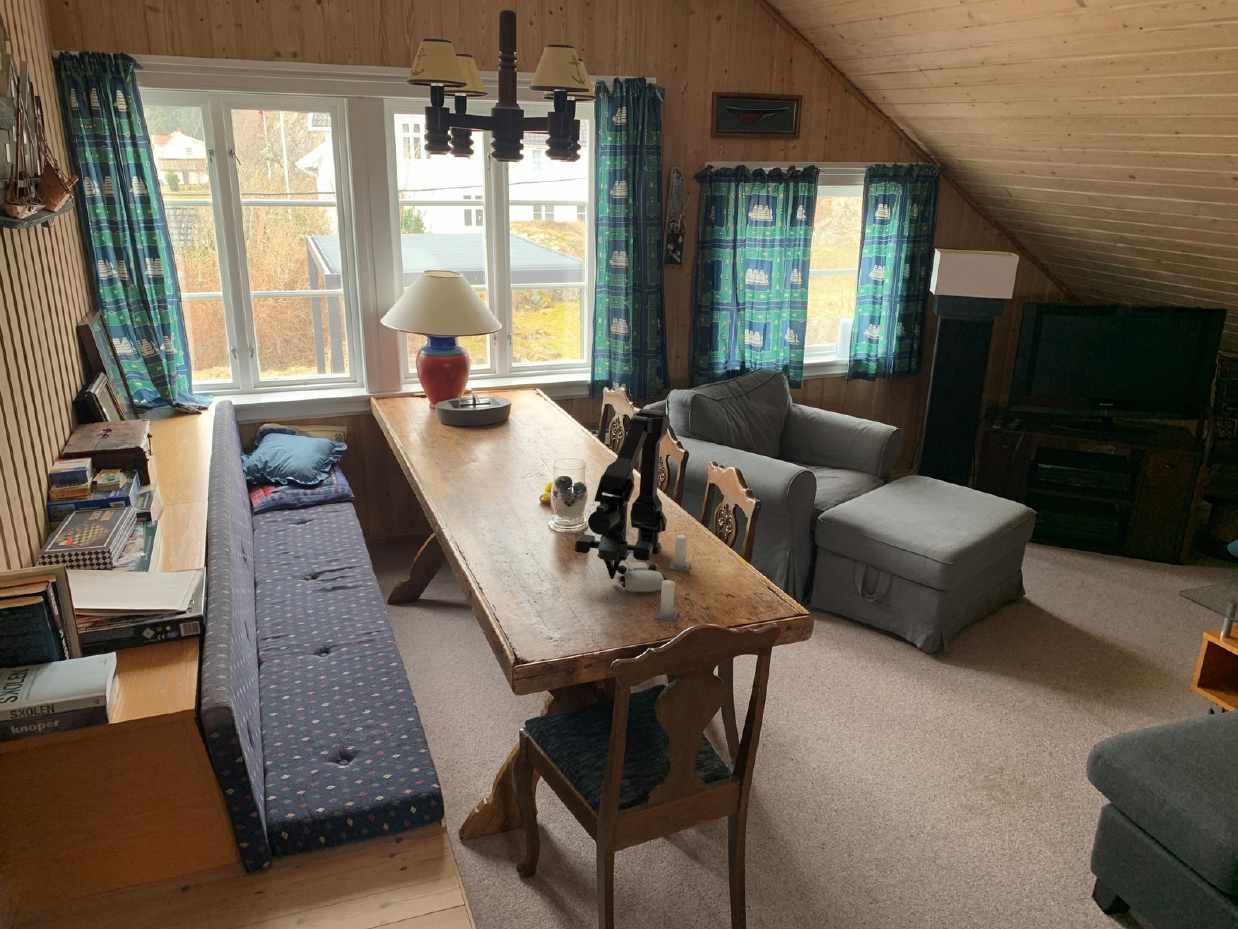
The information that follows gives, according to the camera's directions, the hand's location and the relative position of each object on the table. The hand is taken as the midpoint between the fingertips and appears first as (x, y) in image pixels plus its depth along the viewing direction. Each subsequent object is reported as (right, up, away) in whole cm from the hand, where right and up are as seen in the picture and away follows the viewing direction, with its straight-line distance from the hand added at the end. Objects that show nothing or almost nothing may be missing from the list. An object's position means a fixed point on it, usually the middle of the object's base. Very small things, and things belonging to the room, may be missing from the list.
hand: (612, 578), depth 224 cm
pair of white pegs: (+15, -3, -2) cm, 16 cm away
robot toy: (+7, -2, 0) cm, 7 cm away
